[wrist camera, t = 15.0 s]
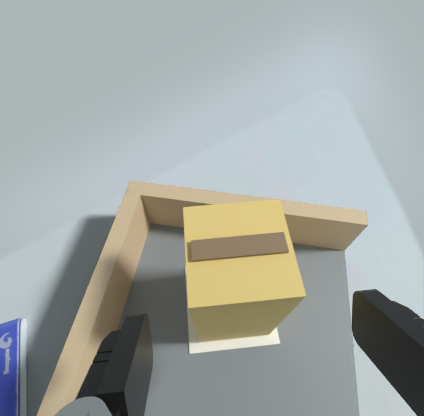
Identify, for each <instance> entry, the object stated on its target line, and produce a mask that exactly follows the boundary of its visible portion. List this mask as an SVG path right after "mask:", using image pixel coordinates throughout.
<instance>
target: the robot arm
mask: <svg viewBox="0 0 424 416" xmlns="http://www.w3.org/2000/svg"><path fill="white" fill-rule="evenodd" d="M352 332H353V336H354V338H355V340H356V342H357V344H358V345H359V346H360V348H361V349H362V350H363V351H364V352H365V354H366V355H367V356H368V357H369V358H370V360H371V361H372V362H373V363H374V364H375V366H376V367H377V368H378V369H379V370H380V372H381V373H382V374H383V375H384V376H385V378H386V379H387V380H388V381H389V382H390V384H391V385H392V386H393V387H394V388H395V390H396V391H397V392H398V393H399V394H400V396H401V397H402V398H403V399H404V400H405V402H406V403H407V404H408V405H409V406H410V408H411V409H412V410H413V411H414V412H415V414H416V415H417V416H424V319H422V318H420V316H418V315H417V314H416V313H414V312H413V311H412V310H410V309H409V308H408V307H405V306H403V305H401V304H399V303H397V302H394V301H391V300H389V299H388V298H387V297H386V296H384V295H383V294H382V293H381V292H379V291H378V290H376V289H372V290H363V291H356V292H354V294H353V305H352ZM152 368H153V347H152V340H151V333H150V326H149V319H148V315H147V313H143V314H134V315H127V316H126V317H125V320H124V323H123V325H122V328H121V330H116V331H111V332H110V333H109V334H108V335H107V336H106V337H105V338H104V339H103V340H102V342H101V344H100V346H99V348H98V351H97V354H96V355H95V357H94V359H93V362H92V364H91V366H90V368H89V370H88V372H87V375H86V377H85V379H84V381H83V383H82V386H81V388H80V390H79V392H78V394H77V397H76V399H75V400H74V401H72V402H70V403H69V404H67V405H66V406H64V407H63V408H62V409H60V410H59V411H58V412H57V413H56V414H55V416H144V414H145V408H146V402H147V396H148V391H149V385H150V379H151V374H152Z"/></svg>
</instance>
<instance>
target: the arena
mask: <svg viewBox="0 0 424 416" xmlns="http://www.w3.org/2000/svg"><path fill="white" fill-rule="evenodd" d="M261 200H272V199H270V198H262V197H254V196H246V195H239V194H231V193H223V192H215V191H207V190H199V189H192V188H184V187H176V186H168V185H160V184H153V183H145V182H136V181H130V182H129V185H128V188H127V190H126V192H125V195H124V197H123V200H122V202H121V205H120V207H119V210H118V212H117V215H116V217H115V220H114V222H113V225H112V227H111V230H110V232H109V235H108V237H107V240H106V242H105V245H104V247H103V250H102V252H101V255H100V257H99V260H98V262H97V265H96V268H95V270H94V273H93V275H92V278H91V280H90V283H89V285H88V288H87V290H86V293H85V295H84V298H83V300H82V303H81V305H80V308H79V310H78V313H77V315H76V318H75V320H74V323H73V325H72V328H71V330H70V333H69V335H68V338H67V340H66V343H65V345H64V348H63V350H62V353H61V355H60V358H59V360H58V363H57V365H56V368H55V370H54V373H53V375H52V378H51V380H50V383H49V385H48V388H47V390H46V393H45V395H44V398H43V400H42V403H41V405H40V408H39V411H38V413H37V416H55V414H56V413H57V412H58V411H59V410H60V409H62V408H63V407H64V406H66V405H67V404H69V403H70V402H72V401H74V400H75V399H76V397H77V394H78V392H79V390H80V388H81V386H82V383H83V381H84V379H85V377H86V375H87V372H88V370H89V368H90V366H91V364H92V362H93V359H94V357H95V355H96V354H97V351H98V348H99V346H100V344H101V342H102V340H103V339H104V338H105V337H106V336H107V335H108V334H109V333H110V332H111V331H116V330H121V328H122V325H123V323H124V320H125V317H126V316H127V315H134V314H143V313H147V315H148V319H149V326H150V333H151V340H152V347H153V368H152V374H151V379H150V385H149V391H148V396H147V402H146V408H145V414H144V416H359V406H358V395H357V384H356V373H355V362H354V351H353V339H352V328H351V317H350V306H349V295H348V284H347V273H346V262H345V251H344V250H345V249H346V248H347V247H348V246H349V245H350V244H351V243H352V242H353V241H354V240H355V239H356V237H357V236H358V235H359V234H360V233H361V232H362V231H363V230H364V229H365V228H366V227H367V226H368V221H367V214H366V211H364V210H356V209H348V208H340V207H332V206H324V205H317V204H309V203H301V202H293V201H285V200H280V201H281V204H282V208H283V212H284V216H285V219H286V223H287V227H288V230H289V234H290V238H291V241H292V245H293V249H294V252H295V256H296V260H297V263H298V267H299V271H300V274H301V278H302V282H303V286H304V289H305V293H306V297H305V298H304V299H303V300H302V301H301V302H300V303H299V304H298V305H297V306H296V307H295V308H294V309H293V311H292V312H291V313H290V314H289V315H288V316H287V317H286V318H285V319H284V320H283V321H282V322H281V323H280V324H279V325H278V326H277V327H276V328H275V329H274V330H273V331H272V332H271V333H270V334H269V335H264V336H255V337H246V338H236V339H227V340H218V341H208V342H199V340H198V337H197V334H196V331H195V328H194V325H193V322H192V319H191V315H190V312H189V309H188V295H187V276H186V256H185V236H184V217H183V207H191V206H202V205H214V204H226V203H237V202H249V201H261Z"/></svg>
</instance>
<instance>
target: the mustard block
mask: <svg viewBox="0 0 424 416" xmlns="http://www.w3.org/2000/svg"><path fill="white" fill-rule="evenodd" d="M183 217H184V236H185V256H186V276H187V295H188V309H189V312H190V315H191V319H192V322H193V325H194V328H195V331H196V334H197V337H198V340H199V342H208V341H218V340H227V339H236V338H246V337H255V336H264V335H269V334H270V333H271V332H272V331H273V330H274V329H275V328H276V327H277V326H278V325H279V324H280V323H281V322H282V321H283V320H284V319H285V318H286V317H287V316H288V315H289V314H290V313H291V312H292V311H293V309H294V308H295V307H296V306H297V305H298V304H299V303H300V302H301V301H302V300H303V299H304V298H305V297H306V293H305V289H304V286H303V282H302V278H301V274H300V271H299V267H298V263H297V260H296V256H295V252H294V249H293V245H292V241H291V238H290V234H289V230H288V227H287V223H286V219H285V216H284V212H283V208H282V204H281V201H280V199H272V200H261V201H249V202H237V203H226V204H214V205H202V206H191V207H183Z"/></svg>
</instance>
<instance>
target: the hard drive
mask: <svg viewBox="0 0 424 416" xmlns="http://www.w3.org/2000/svg"><path fill="white" fill-rule="evenodd" d="M0 416H27V406H26V320H25V319H21V318H19V319H16V320H12V321H9V322H6V323H3V324H0Z"/></svg>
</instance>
